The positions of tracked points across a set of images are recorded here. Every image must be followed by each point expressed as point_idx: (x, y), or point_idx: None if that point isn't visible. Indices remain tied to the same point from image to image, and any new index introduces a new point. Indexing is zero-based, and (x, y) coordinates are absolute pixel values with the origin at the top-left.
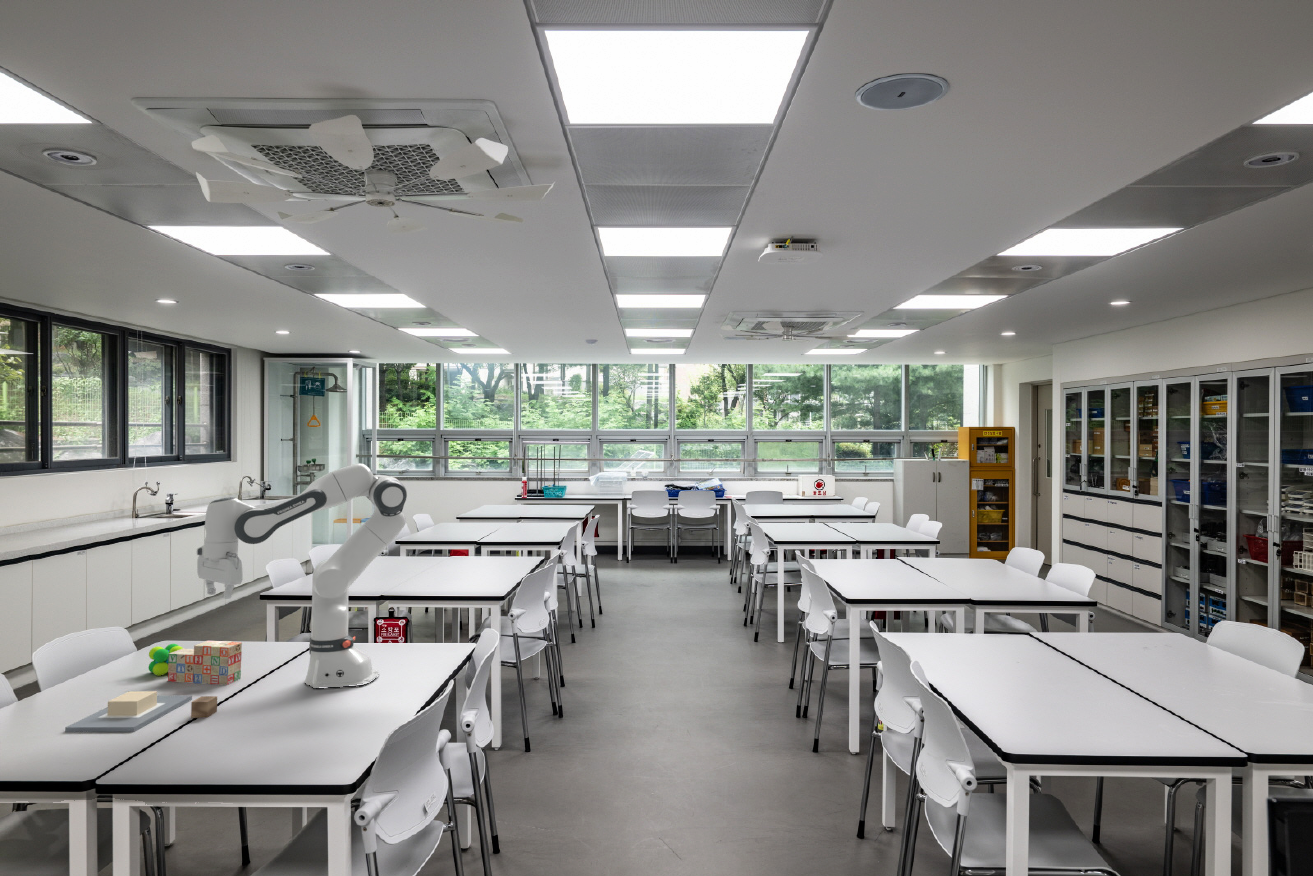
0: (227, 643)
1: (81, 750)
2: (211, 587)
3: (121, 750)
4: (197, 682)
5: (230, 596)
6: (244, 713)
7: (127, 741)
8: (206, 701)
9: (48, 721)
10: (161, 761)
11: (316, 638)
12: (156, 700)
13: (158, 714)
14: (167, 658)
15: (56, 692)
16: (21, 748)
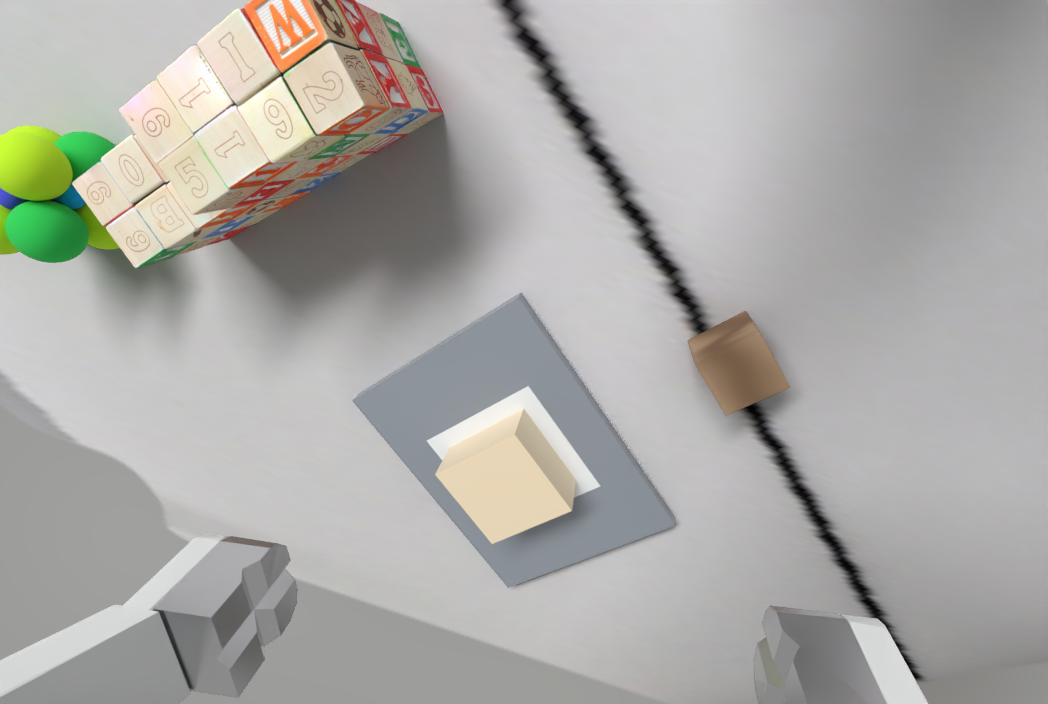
0: (268, 63)
1: (686, 616)
2: (153, 670)
3: (788, 587)
4: (324, 181)
5: (892, 652)
6: (879, 264)
7: (734, 554)
8: (781, 387)
9: (390, 559)
10: (990, 589)
11: None
12: (521, 418)
13: (619, 443)
14: (73, 212)
15: (139, 457)
16: (544, 649)
